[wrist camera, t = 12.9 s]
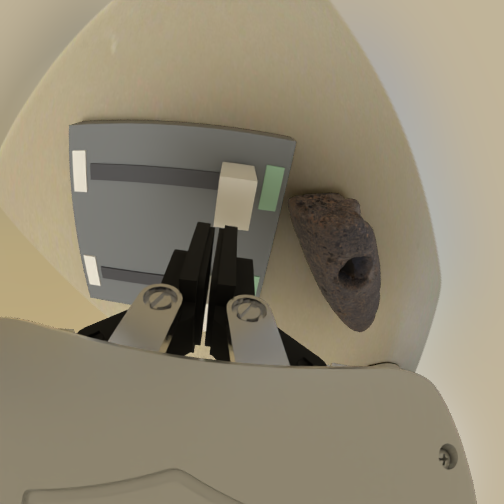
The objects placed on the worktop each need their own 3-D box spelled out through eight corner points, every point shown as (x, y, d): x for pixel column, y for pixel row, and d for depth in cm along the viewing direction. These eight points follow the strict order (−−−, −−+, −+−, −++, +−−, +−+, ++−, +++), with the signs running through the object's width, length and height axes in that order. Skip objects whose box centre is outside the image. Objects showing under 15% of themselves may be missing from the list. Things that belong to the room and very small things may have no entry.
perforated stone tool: (371, 293, 27) (396, 342, 21) (326, 311, 28) (343, 364, 22) (338, 160, 19) (380, 193, 13) (275, 185, 20) (292, 228, 14)
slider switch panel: (290, 137, 18) (296, 142, 16) (252, 304, 27) (253, 320, 25) (82, 121, 16) (68, 125, 14) (97, 284, 24) (90, 298, 23)
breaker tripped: (254, 166, 17) (257, 181, 14) (246, 208, 18) (248, 230, 16) (222, 161, 16) (219, 176, 14) (216, 204, 18) (213, 226, 15)
